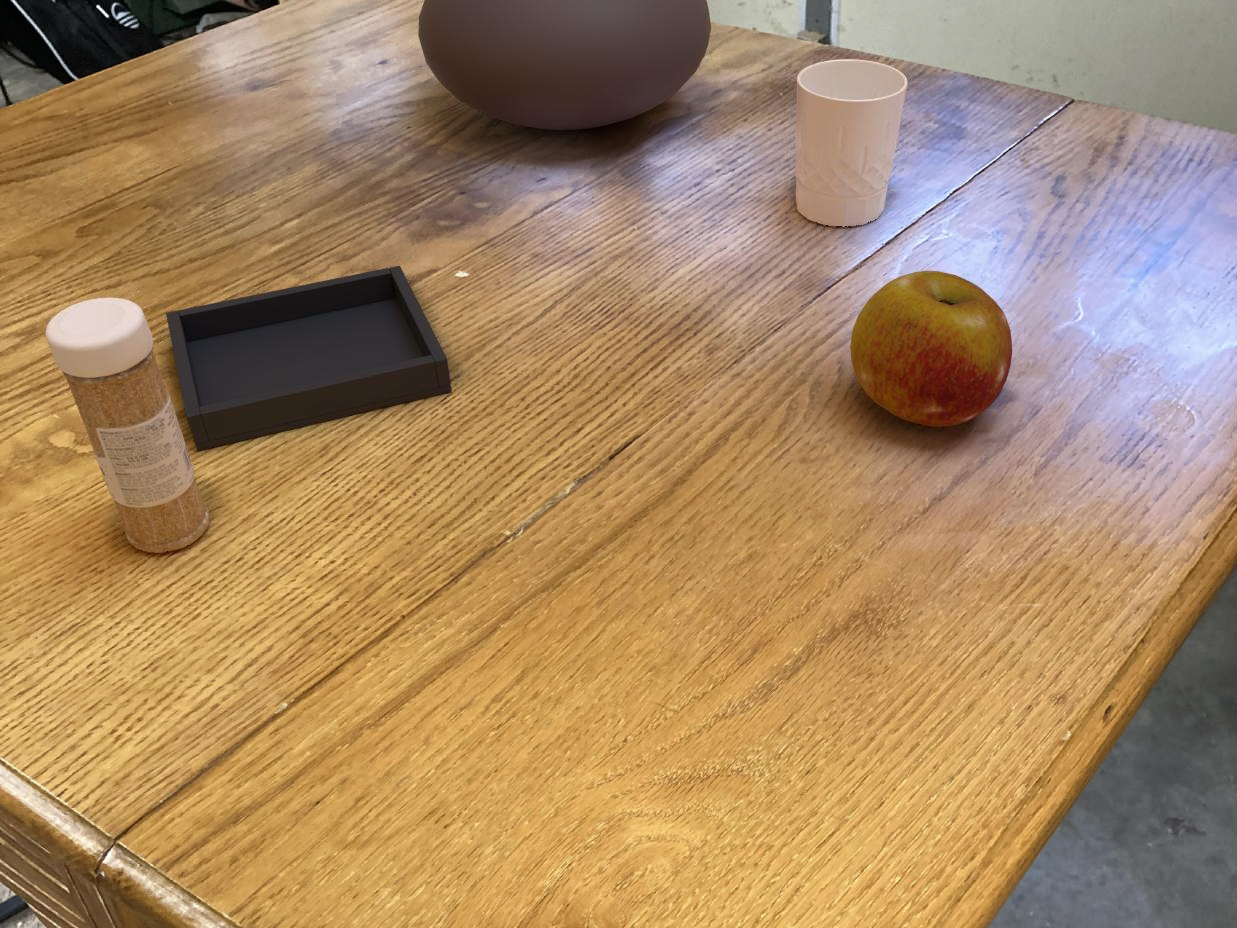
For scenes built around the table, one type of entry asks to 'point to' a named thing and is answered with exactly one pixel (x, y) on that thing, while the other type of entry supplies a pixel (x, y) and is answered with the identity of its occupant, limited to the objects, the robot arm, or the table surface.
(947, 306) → the fruit
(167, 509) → the sprinkles bottle
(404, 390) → the tray
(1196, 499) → the table surface
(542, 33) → the flattened ellipsoid
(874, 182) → the pale pink cup
